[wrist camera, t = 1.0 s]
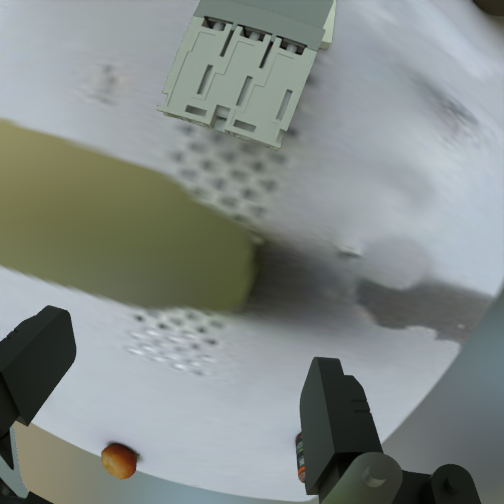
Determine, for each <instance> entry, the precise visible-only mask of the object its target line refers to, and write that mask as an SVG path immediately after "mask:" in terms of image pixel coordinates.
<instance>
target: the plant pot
mask: <svg viewBox="0 0 504 504" xmlns="http://www.w3.org/2000/svg"><path fill="white" fill-rule="evenodd" d="M473 1H474V2H475V3H476V4H477V5H478V6H479V7H480V8H481V9H483V10H484V11H486V12H488V13H490V14H493V15H498V16H504V0H473Z"/></svg>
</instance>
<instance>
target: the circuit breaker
mask: <svg viewBox="0 0 504 504" xmlns="http://www.w3.org/2000/svg"><path fill="white" fill-rule="evenodd" d="M333 2H334V1H333V0H201V1H200V3H199V5H198V7H197V9H196V11H195V13H194V15H193V17H192V19H191V22H190V24H189V26H188V28H187V31H186V33H185V35H184V37H183V40H182V42H181V44H180V47H179V49H178V52H177V54H176V57H175V59H174V62H173V64H172V67H171V69H170V72H169V75H168V77H167V80H166V83H165V85H164V88H163V91H162V93H165V94H167V98H166V101H165V103H164V106H163V107H162V106H158V105H157V108H156V110H158V111H161V112H164V113H163V114H164V115H165V116H169V117H174V118H178V119H181V120H185V121H188V122H190V123H193V124H197V125H200V126H203V127H206V128H210V129H213V130H216V131H219V132H222V133H226V134H229V135H232V136H235V137H238V138H241V139H244V140H247V141H249V142H252V143H253V142H254V143H257V144H260V145H263V146H265V147H268V148H270V149H273V150H275V151H278V149H280V148H281V145H282V144H280V143H281V140H282V138H283V135H284V133H285V131H287V129H288V127H289V124H290V121H291V119H292V116H293V114H294V111H295V108H296V106H297V103H298V101H299V98H300V95H301V93H302V90H303V88H304V85H305V82H306V80H307V77H308V75H309V72H310V70H311V67H312V64H313V62H314V59H315V57H316V54H317V52H318V49H319V47H320V44H321V41H322V39H323V36H324V34H325V31H326V30H325V29H323V27H324V25H325V22H326V20H327V17H328V15H329V12H330V10H331V7H332V5H333Z"/></svg>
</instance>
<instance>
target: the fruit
mask: <svg viewBox="0 0 504 504" xmlns="http://www.w3.org/2000/svg"><path fill="white" fill-rule="evenodd" d="M101 455H102V463H103V466H104V468H105V469H106V470H107V471H108V472H109V473H110V474H111V475H113V476H115V477H117V478H119V479H126V478H129V477H130V476H132V475H133V474H134V473H135V471H136V462H137V456H139V455H140V454H139V455H135V454H133V453H132V452H131V451H130V450H129V449H127V448H125V447H123V446H122V445H120V444H114V445H111V446H108V447H106V448H105V449H104V450H103V451H102V453H101Z"/></svg>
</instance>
